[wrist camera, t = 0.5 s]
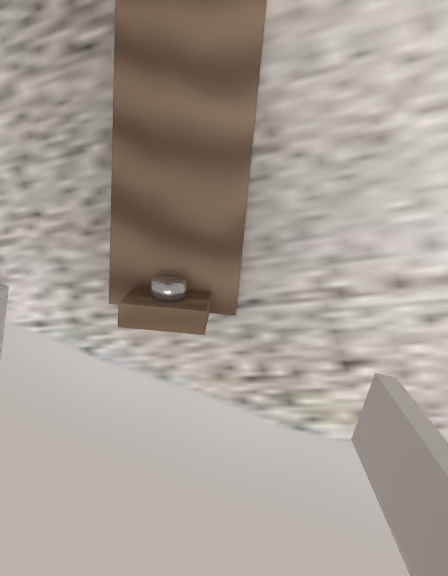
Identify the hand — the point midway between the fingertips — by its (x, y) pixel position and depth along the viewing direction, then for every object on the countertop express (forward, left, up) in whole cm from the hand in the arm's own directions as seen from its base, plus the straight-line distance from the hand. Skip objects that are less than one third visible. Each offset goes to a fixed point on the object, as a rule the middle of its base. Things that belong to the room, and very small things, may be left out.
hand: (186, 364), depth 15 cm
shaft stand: (-9, -4, -26) cm, 28 cm away
